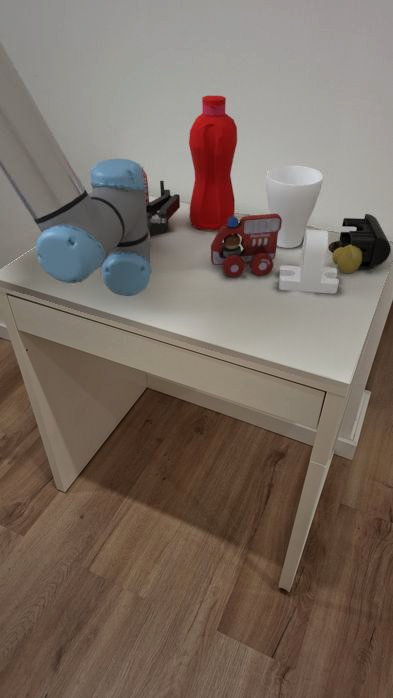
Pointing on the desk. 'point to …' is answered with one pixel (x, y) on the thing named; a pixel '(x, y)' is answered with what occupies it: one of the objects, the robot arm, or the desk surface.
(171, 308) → the desk surface
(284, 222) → the cup
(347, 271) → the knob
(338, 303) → the desk surface
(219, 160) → the water bottle
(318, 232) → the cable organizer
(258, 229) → the toy fire truck
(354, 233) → the end cap
